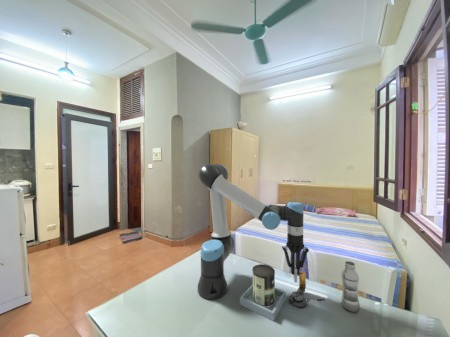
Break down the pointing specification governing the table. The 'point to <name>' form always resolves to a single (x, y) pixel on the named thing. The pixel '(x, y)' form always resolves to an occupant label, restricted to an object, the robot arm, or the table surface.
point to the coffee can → (264, 285)
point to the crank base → (298, 304)
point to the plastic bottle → (350, 287)
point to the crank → (300, 288)
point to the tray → (269, 312)
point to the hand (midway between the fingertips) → (295, 280)
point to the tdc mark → (320, 299)
